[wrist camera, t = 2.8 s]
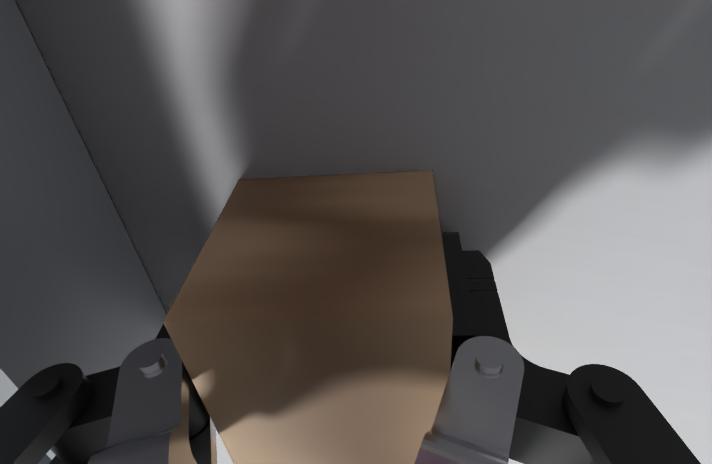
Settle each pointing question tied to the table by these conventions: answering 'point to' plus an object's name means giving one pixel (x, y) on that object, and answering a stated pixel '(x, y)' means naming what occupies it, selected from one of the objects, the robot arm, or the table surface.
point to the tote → (58, 234)
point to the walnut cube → (320, 319)
